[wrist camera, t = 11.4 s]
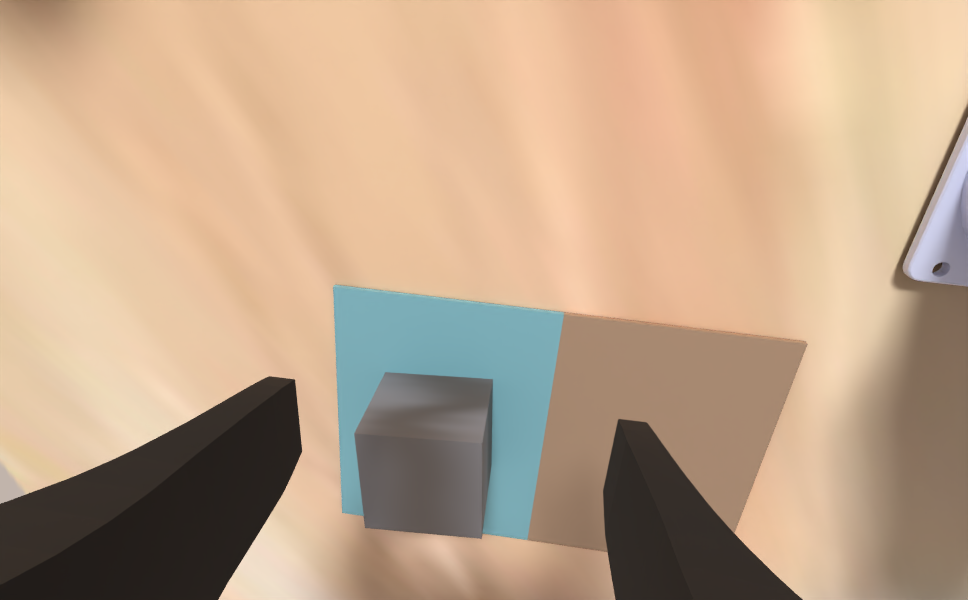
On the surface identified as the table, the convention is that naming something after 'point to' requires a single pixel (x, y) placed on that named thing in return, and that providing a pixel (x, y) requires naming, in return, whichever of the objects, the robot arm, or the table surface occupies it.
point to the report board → (569, 400)
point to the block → (426, 454)
